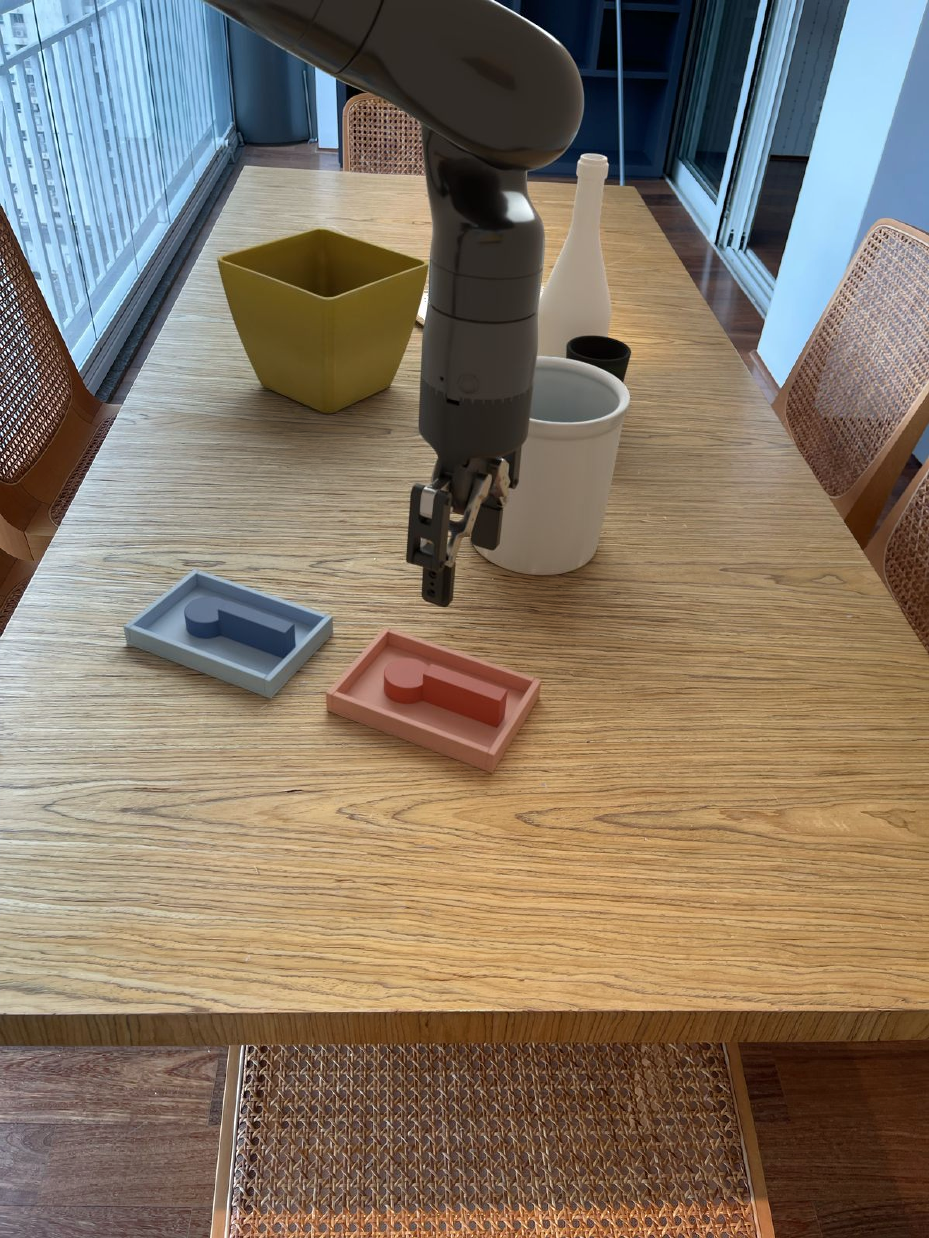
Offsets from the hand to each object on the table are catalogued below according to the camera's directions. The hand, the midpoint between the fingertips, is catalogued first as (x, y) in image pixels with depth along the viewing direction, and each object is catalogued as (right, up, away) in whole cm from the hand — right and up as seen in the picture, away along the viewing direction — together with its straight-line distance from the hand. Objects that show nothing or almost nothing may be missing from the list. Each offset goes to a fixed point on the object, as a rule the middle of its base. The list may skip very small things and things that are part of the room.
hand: (461, 573), depth 76 cm
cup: (+15, +19, +50) cm, 56 cm away
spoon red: (-2, -10, +9) cm, 14 cm away
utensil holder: (+8, +5, +31) cm, 32 cm away
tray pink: (-2, -11, +10) cm, 15 cm away
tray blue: (-21, -5, +15) cm, 26 cm away
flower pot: (-18, +27, +58) cm, 66 cm away
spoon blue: (-20, -5, +14) cm, 25 cm away
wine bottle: (+14, +27, +60) cm, 67 cm away
